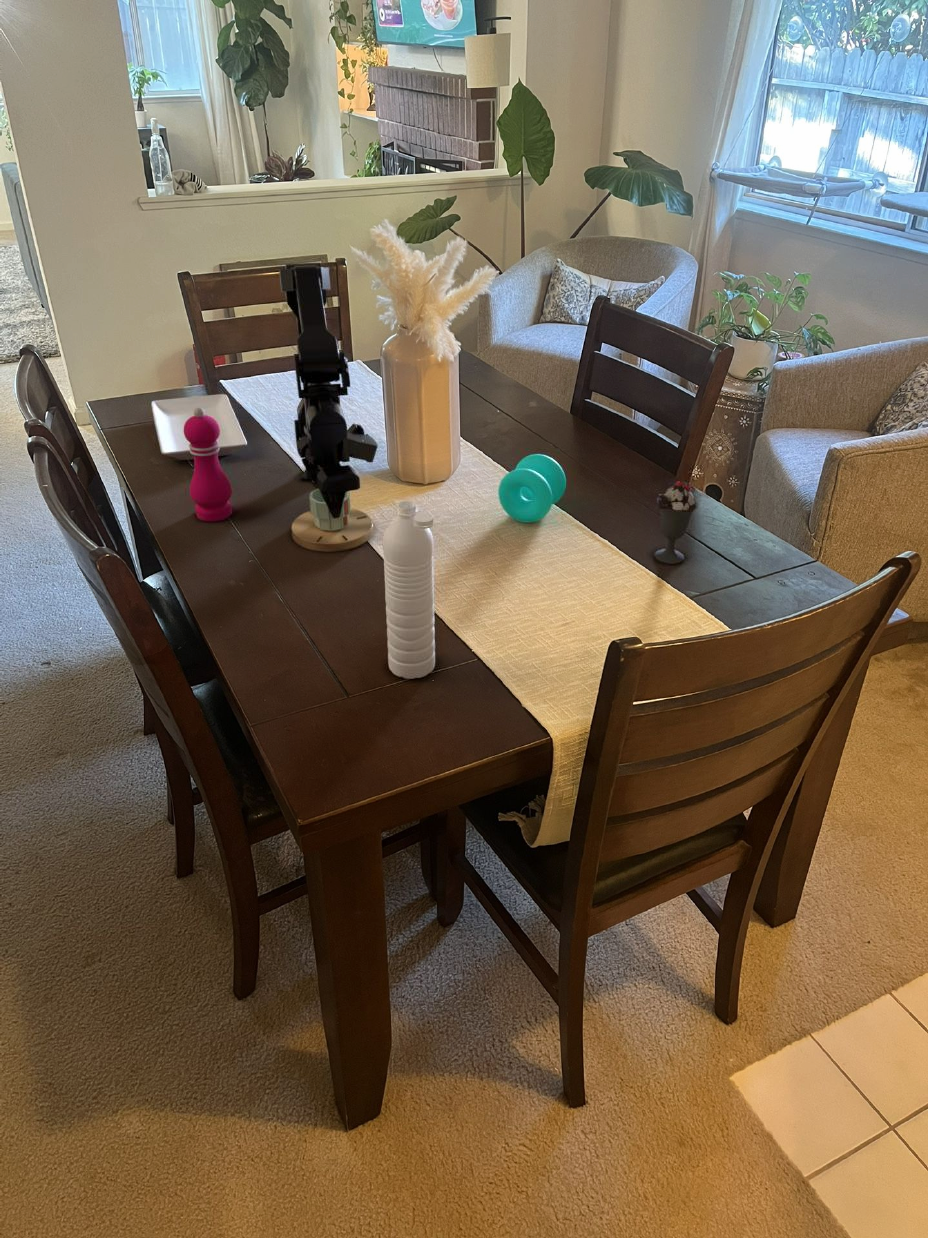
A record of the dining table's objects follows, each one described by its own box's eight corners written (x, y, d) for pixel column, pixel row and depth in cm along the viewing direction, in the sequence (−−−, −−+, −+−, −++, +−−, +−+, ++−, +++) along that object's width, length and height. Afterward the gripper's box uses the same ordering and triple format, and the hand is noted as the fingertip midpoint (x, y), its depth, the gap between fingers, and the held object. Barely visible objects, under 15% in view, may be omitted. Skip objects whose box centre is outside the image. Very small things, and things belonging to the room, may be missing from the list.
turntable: (304, 511, 167) (303, 503, 166) (380, 516, 166) (379, 508, 165) (282, 548, 155) (281, 540, 154) (363, 554, 154) (363, 545, 153)
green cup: (307, 518, 161) (304, 489, 158) (346, 511, 163) (344, 483, 160) (317, 535, 156) (314, 506, 153) (357, 528, 158) (355, 499, 155)
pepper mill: (223, 525, 162) (207, 416, 151) (186, 520, 164) (167, 412, 153) (241, 508, 168) (227, 402, 157) (206, 503, 170) (189, 398, 159)
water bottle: (380, 660, 129) (371, 499, 115) (421, 647, 131) (417, 488, 118) (409, 694, 122) (404, 527, 109) (451, 679, 125) (451, 515, 111)
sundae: (691, 550, 156) (705, 469, 148) (686, 569, 150) (700, 485, 142) (652, 544, 158) (664, 463, 149) (646, 562, 152) (657, 479, 144)
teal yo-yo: (494, 518, 165) (496, 467, 160) (516, 497, 173) (518, 447, 167) (546, 530, 162) (550, 478, 156) (566, 507, 169) (570, 457, 164)
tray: (228, 406, 211) (226, 391, 209) (249, 458, 187) (247, 442, 185) (152, 414, 206) (149, 399, 204) (164, 469, 182) (161, 453, 180)
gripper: (388, 436, 145) (392, 524, 153) (355, 397, 159) (360, 480, 168) (319, 446, 141) (327, 536, 150) (292, 405, 156) (300, 489, 164)
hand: (330, 508), depth 158 cm, fingers closed on green cup, 7 cm apart
